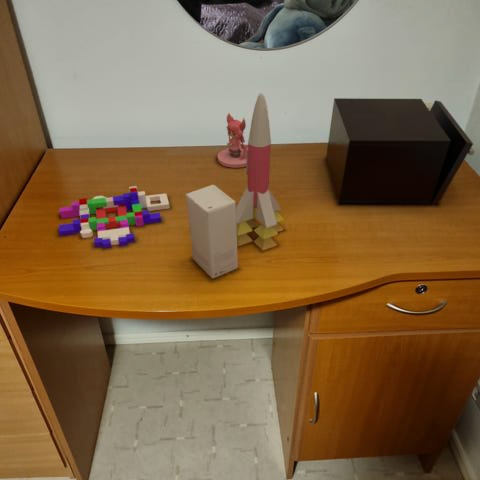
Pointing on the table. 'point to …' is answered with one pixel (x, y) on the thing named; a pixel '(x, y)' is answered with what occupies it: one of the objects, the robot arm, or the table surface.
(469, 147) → the oven door
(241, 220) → the toy rocket
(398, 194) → the oven
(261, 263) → the table surface
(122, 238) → the building block set
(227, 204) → the cosmetic box
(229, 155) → the toy figure
